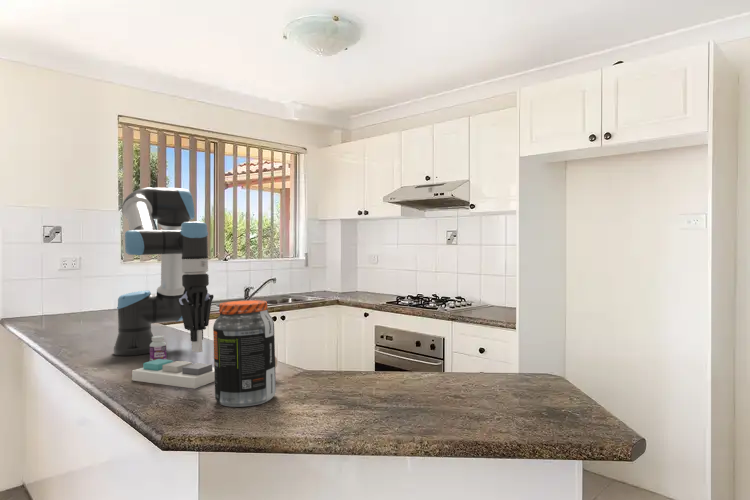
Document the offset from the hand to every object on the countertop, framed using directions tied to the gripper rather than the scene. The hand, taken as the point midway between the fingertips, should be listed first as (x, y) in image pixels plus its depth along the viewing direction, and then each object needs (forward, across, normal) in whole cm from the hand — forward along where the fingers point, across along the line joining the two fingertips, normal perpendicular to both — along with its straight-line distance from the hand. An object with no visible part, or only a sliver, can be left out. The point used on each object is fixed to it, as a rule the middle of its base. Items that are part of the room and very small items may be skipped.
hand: (197, 351), depth 154 cm
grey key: (+7, 0, +8) cm, 11 cm away
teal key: (+7, 0, +16) cm, 18 cm away
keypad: (+9, 0, +8) cm, 12 cm away
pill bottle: (+9, +13, +30) cm, 34 cm away
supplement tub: (+10, -9, -25) cm, 28 cm away
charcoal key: (+7, 0, 0) cm, 7 cm away
